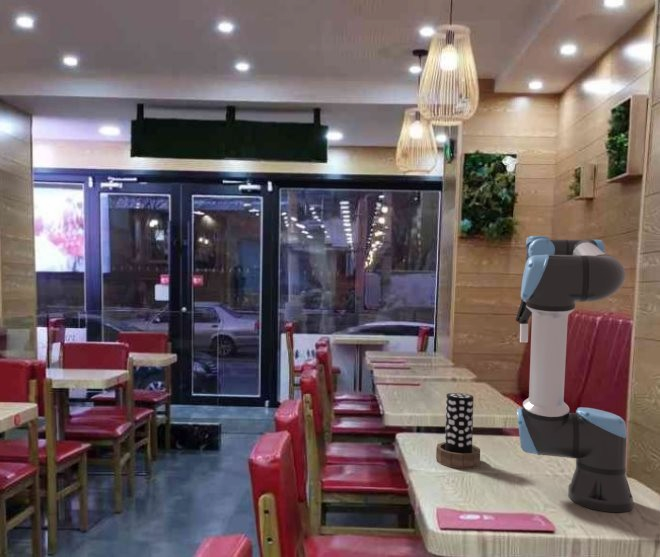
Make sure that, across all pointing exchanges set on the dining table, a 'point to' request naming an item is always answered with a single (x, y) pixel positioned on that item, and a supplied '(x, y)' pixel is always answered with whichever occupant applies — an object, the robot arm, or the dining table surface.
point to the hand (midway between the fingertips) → (535, 344)
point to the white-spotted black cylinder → (459, 423)
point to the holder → (458, 457)
